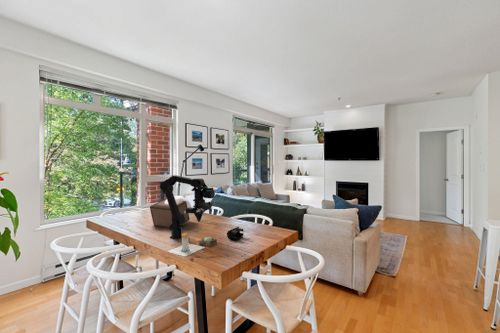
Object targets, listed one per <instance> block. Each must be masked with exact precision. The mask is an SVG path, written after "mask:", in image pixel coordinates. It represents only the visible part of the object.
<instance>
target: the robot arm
mask: <svg viewBox="0 0 500 333" xmlns="http://www.w3.org/2000/svg"><path fill="white" fill-rule="evenodd" d="M176 183H181V184H185V185H186V184H187V185H190V186H191V187H192V189H191V192H194V198H193V199H192V201H193V202H194V205H192V206H191V207H190V208H186V213H191V214H194V216H195V218H196V220H197V222H199V223H200V222H201V220H202V217H203V214H204V213H205V212H206V211H208V210H211V209H212V207H213V202H212V201H207V202H206V199H214V198H215V196H216V195H215V194H216V192H215V190H214V187H208V185H207V184H206V182H205V180H204V179H203V178H199V177H198V178H192V177H191V178H190V177H186V176H185V177H184V176H180V175H176V174H175V175H171V176H170V177H168V178H167V179H166V180H164V181H161V182H160V184H159V188H160V191H161V192H162V193H163V194H164V195H165V197H166V199H167V201H168V204H169V207H170V210H171V213H172V224H171V225H170V226H169V228H168V229H169V230H171V231H170V232H171V233H170V234H171V236H169V239H174V240H178V239H182V234H183V233H182V232H183V231H182V228H183V227H184V225H185V224H186V223H185V217H184V214H181V213H180V212H179V209H178V206H177V203H176V201H175V198H174V196H175V195H174V186H175V185H176Z"/></svg>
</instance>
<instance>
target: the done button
mask: <svg viewBox="0 0 500 333" xmlns="http://www.w3.org/2000/svg"><path fill="white" fill-rule="evenodd" d="M212 238H213V237H210V236H207V237H204V238H203V239H204V241H206V242H209V241H212Z"/></svg>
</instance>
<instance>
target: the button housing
mask: <svg viewBox="0 0 500 333" xmlns="http://www.w3.org/2000/svg"><path fill="white" fill-rule="evenodd" d="M211 238H212V241H209V242H206V241H204V238H202V239H199V240H198V246H202V247H207V248H209V247H212V246H214V245H215V244H218V239H217V238H213V237H211Z"/></svg>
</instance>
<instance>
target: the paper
mask: <svg viewBox="0 0 500 333" xmlns="http://www.w3.org/2000/svg"><path fill="white" fill-rule="evenodd" d="M188 247H189V250H188V251H186V252H183V251H182V245H180V246H177V247H174V248H173V249H169V250H167V251H166V253H170V254H173V255H176V256H180V257H184V258H186V257H187V256H191V255H192V254H195V253H197V252H199V251H201V250H203V249H205V248H206V246H202V245H199V244H193V243H189V242H188Z"/></svg>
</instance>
